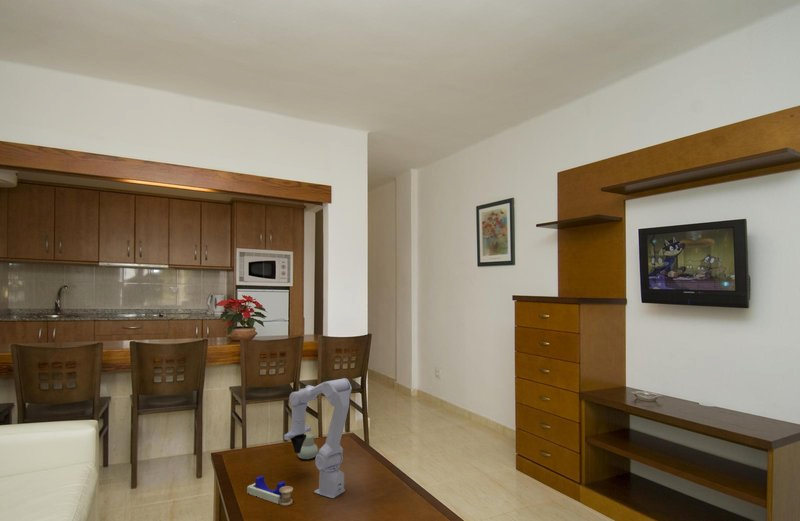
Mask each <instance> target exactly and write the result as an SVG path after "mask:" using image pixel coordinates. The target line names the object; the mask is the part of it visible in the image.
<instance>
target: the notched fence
mask: <svg viewBox="0 0 800 521" xmlns="http://www.w3.org/2000/svg"><path fill="white" fill-rule="evenodd" d="M248 493H249V494H248ZM246 494H248V495H251V496H254V497H256V496H257V497H256V498H259V499H262V500H265V501H269V502H271V503H274V504H276V505H280V504H279V501H280V497H281V496H280V495H277V494H274V493H271V492H268V491H265V490H262V489H259V488H256V487H255V482H254V483H252V484H249V485H248V486H247V487H246Z"/></svg>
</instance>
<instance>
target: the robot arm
mask: <svg viewBox="0 0 800 521" xmlns="http://www.w3.org/2000/svg"><path fill="white" fill-rule="evenodd" d="M352 389H353V388H352V384H351V383H350V380H349V379H348V378H346V377H342V378H340V379H339V378H338V379H333V380H327V381H323V382H321V383H319V384H318V385H315V386H314V385H310V384H308V385H305V388H299V390H297V391H292V392H291V393H290V394H289V399H288V400H289V403H290V405H291V428H290V429H289V431H288V432H287V433H285V434H283V438H284V439H283V440H285V441H289V440H290V441H291V444H292V446H293V451H294V453H295V454H297V453H300V452H301V448H302V445H303V442H304V440H305V438H306V435H305V434H306V433H308V432H311V431H312V426H311V425H306V413H307V412H306V409H307V408H308V404H309V402H311V401H313V400H315V399H316V398H318V395H320V394H323V395H324V396H325V398H326V399H327V401H328V402H329V404H330V406H332V407H333V412H332V415H331V420H330V422H329V427H328V432H327V435H326V439H325V443H324V444H323V445H322V446H321V448H319V449H318V454H317V455H316V456H315V457H314V458H315V460H314V463H315V466H316V469H317V470H318V471H319V475H318V476H319V477H318V489H315V490H314V491H313V493H315V494H317V495H321V496H322V497H327V498H330V499H334V498H336V497H338V496H340V495H341V494H342V493H344V492H346V489H345V472H344V471H341V470H340V466H341V464H342V462H343V458H344V457H343V455H344V454H343V452H344V448H343V447H342V446H341V439H342V436H343V433H344V429H345V424H346V421H347V417H348V416H347V415H348V413H349V409H350V396H351V393H352Z"/></svg>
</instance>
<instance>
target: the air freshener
mask: <svg viewBox="0 0 800 521" xmlns="http://www.w3.org/2000/svg"><path fill="white" fill-rule="evenodd" d="M304 434H305V435H306V438H305V440H304V442H303V445H302V448H301V452H300V453H296V455H297V457H298V458H300V459H302V460H311V459H313V458H316V456H317V454H318V453H319V448H318V445H317V444H316V443H315V435H314V434H312V433H304Z"/></svg>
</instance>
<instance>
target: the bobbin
mask: <svg viewBox="0 0 800 521" xmlns="http://www.w3.org/2000/svg"><path fill="white" fill-rule="evenodd" d="M293 490H294V488H293V486H290V485H285V486H284V487H281V488H280V493H282V499H280V501H279V504H278V505H280V506H284V507H285V506H286V507H288V506H290V505H292V504H293V499H292V498H291V493H292V492H294V491H293Z"/></svg>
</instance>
